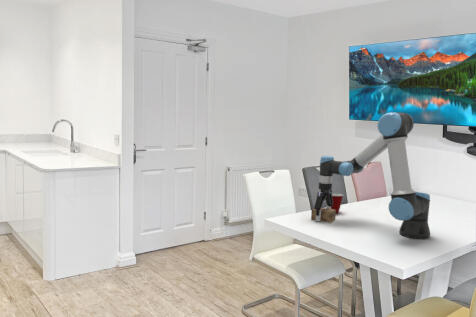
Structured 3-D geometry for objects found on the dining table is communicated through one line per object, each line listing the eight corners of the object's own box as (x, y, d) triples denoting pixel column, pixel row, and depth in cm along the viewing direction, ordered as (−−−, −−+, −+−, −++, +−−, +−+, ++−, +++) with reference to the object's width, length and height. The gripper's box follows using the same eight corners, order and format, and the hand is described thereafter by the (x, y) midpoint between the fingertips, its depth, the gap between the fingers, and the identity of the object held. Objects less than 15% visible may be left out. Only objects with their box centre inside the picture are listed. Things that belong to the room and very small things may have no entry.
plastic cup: (341, 211, 282) (342, 192, 280) (343, 215, 271) (345, 196, 270) (324, 210, 283) (325, 191, 282) (325, 214, 272) (326, 195, 271)
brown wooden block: (335, 219, 261) (336, 209, 260) (331, 223, 253) (332, 212, 252) (315, 216, 266) (316, 206, 265) (311, 220, 258) (311, 209, 257)
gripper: (329, 179, 269) (326, 214, 271) (309, 184, 250) (307, 221, 252) (340, 181, 264) (338, 216, 267) (321, 186, 245) (319, 224, 248)
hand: (323, 219), depth 260 cm, fingers open, 12 cm apart
